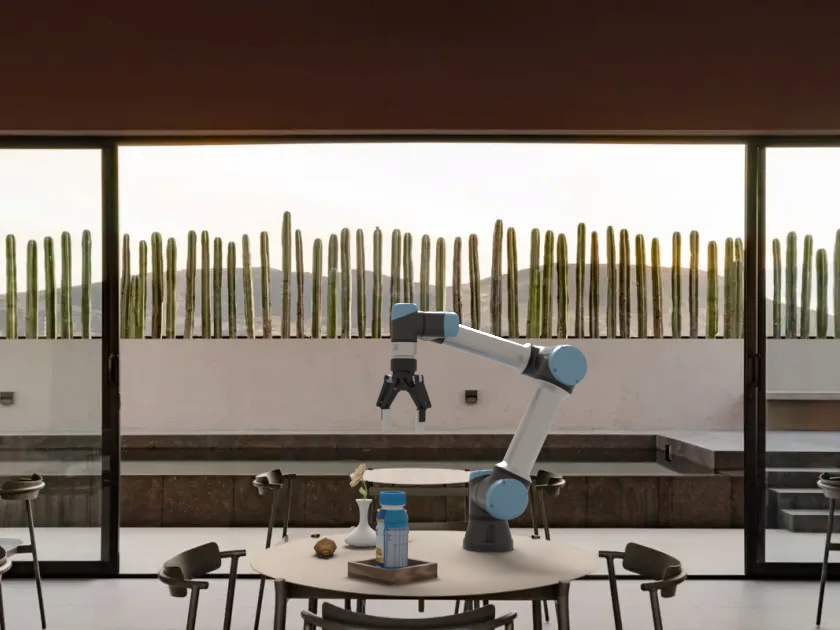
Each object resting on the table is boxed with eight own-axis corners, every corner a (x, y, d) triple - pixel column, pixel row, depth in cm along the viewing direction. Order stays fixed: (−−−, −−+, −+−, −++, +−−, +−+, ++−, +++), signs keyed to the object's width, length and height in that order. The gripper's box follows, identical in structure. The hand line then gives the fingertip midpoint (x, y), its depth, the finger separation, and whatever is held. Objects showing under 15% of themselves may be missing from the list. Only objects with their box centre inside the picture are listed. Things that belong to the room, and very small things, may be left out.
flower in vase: (346, 543, 296) (347, 460, 298) (383, 543, 296) (384, 461, 298) (341, 550, 283) (342, 463, 285) (380, 550, 283) (381, 464, 285)
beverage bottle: (397, 576, 238) (398, 494, 240) (368, 573, 242) (369, 492, 244) (414, 571, 245) (415, 491, 247) (386, 568, 249) (387, 489, 251)
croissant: (338, 559, 268) (338, 541, 269) (313, 559, 267) (314, 541, 268) (335, 551, 282) (336, 533, 282) (312, 551, 281) (312, 534, 281)
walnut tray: (394, 568, 255) (394, 554, 255) (437, 577, 243) (437, 563, 244) (347, 576, 244) (347, 561, 244) (390, 585, 232) (390, 570, 232)
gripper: (364, 358, 281) (363, 431, 279) (425, 356, 263) (424, 435, 261) (383, 358, 286) (382, 431, 284) (444, 357, 268) (443, 434, 267)
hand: (402, 433), depth 273 cm, fingers open, 13 cm apart
